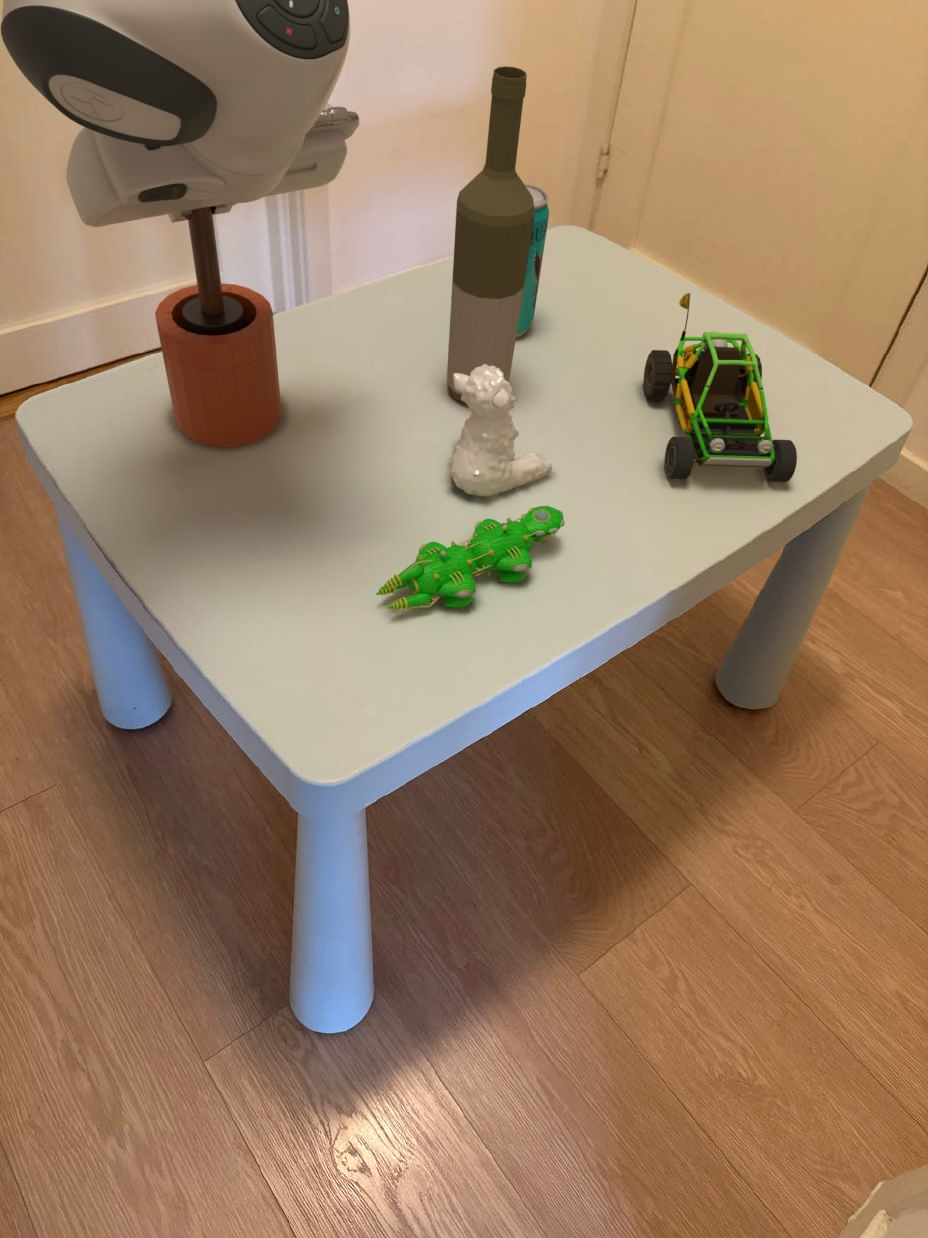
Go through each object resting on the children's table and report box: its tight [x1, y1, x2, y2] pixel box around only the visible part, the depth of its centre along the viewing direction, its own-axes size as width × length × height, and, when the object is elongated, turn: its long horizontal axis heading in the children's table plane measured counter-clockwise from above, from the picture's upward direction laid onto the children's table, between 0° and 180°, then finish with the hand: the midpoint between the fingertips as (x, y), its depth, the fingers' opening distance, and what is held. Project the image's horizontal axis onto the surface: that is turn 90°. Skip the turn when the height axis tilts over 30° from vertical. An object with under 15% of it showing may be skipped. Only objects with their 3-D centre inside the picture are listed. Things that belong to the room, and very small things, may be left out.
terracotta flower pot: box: [154, 282, 282, 448], centre depth 86 cm, size 10×10×11 cm
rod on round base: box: [182, 206, 245, 336], centre depth 76 cm, size 5×5×24 cm
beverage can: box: [516, 183, 550, 339], centre depth 98 cm, size 6×6×15 cm
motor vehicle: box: [643, 292, 798, 483], centre depth 90 cm, size 12×19×11 cm, turn 3°
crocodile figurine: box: [375, 505, 566, 611], centre depth 77 cm, size 7×18×4 cm, turn 124°
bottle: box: [446, 65, 535, 404], centre depth 84 cm, size 7×7×30 cm
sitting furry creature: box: [448, 364, 553, 498], centre depth 82 cm, size 10×9×12 cm
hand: (196, 208), depth 75 cm, fingers closed on rod on round base
